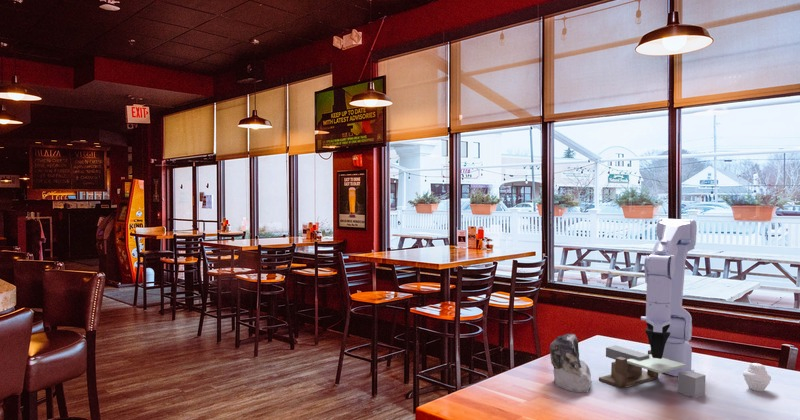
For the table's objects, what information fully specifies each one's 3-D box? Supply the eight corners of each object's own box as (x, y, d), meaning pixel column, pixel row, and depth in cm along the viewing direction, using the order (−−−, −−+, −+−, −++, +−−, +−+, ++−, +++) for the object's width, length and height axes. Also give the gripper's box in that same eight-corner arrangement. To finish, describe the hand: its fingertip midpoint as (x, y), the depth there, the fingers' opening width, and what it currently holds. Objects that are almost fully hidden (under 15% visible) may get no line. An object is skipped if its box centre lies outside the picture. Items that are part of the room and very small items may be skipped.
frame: (635, 370, 154) (636, 345, 154) (658, 378, 148) (658, 351, 148) (598, 380, 145) (599, 353, 145) (621, 388, 140) (622, 359, 139)
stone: (603, 399, 136) (583, 350, 133) (566, 411, 138) (545, 364, 135) (590, 368, 149) (570, 324, 146) (556, 380, 151) (536, 336, 148)
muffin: (746, 383, 145) (746, 357, 145) (773, 389, 140) (774, 363, 140) (739, 389, 140) (740, 362, 140) (767, 395, 136) (768, 368, 136)
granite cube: (687, 389, 140) (688, 370, 140) (704, 394, 136) (705, 375, 136) (677, 392, 138) (678, 372, 138) (694, 397, 134) (695, 378, 134)
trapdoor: (623, 352, 154) (623, 343, 154) (685, 371, 139) (685, 361, 139) (598, 358, 149) (598, 349, 149) (659, 378, 133) (660, 367, 133)
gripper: (642, 295, 146) (641, 344, 146) (640, 305, 133) (639, 359, 133) (671, 297, 143) (670, 348, 143) (672, 308, 130) (670, 363, 130)
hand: (657, 353), depth 138 cm, fingers open, 7 cm apart
